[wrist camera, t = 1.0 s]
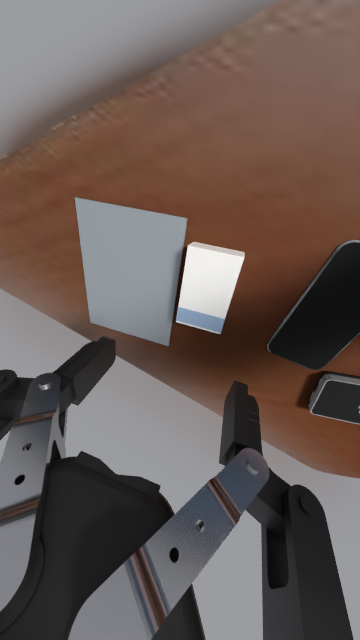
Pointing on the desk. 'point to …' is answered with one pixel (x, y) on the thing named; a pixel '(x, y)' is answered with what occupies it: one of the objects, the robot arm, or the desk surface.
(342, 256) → the smartphone
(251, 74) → the desk surface
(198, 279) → the card box
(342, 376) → the external hard drive
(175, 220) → the mat
